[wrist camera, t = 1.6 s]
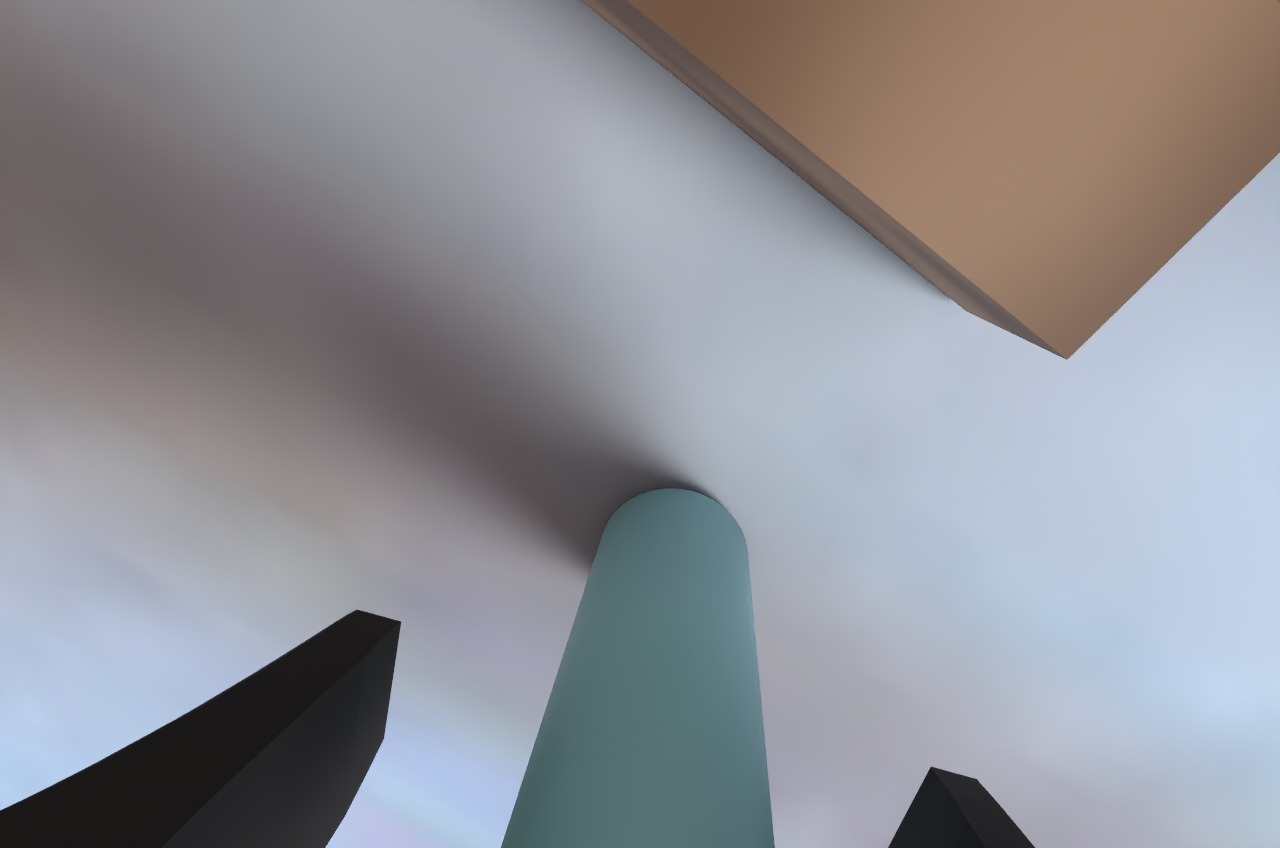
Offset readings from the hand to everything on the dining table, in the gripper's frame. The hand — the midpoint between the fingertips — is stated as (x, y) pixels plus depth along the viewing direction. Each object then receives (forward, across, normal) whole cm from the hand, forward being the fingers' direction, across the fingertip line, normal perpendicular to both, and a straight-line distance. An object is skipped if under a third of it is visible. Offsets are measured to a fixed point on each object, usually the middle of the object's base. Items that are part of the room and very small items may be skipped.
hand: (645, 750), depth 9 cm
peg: (+5, 0, 0) cm, 5 cm away
